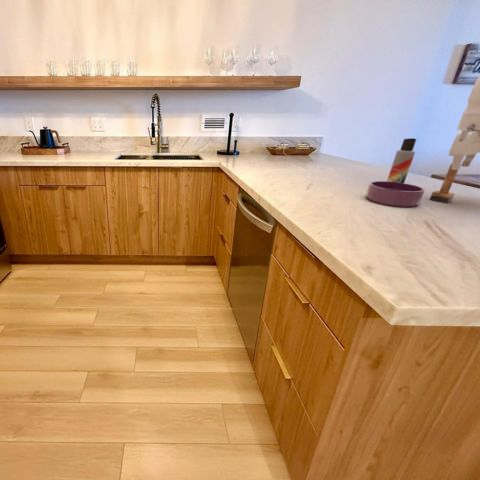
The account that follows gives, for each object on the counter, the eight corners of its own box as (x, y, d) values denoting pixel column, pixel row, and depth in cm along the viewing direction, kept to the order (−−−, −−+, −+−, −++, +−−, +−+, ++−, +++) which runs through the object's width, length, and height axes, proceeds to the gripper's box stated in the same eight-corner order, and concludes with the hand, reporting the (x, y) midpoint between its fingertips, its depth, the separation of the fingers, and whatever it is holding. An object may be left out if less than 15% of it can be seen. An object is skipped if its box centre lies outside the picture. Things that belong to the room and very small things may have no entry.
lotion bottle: (388, 190, 117) (405, 138, 109) (382, 186, 122) (398, 137, 114) (404, 190, 116) (423, 138, 108) (397, 187, 121) (415, 137, 113)
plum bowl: (426, 203, 101) (432, 188, 99) (406, 210, 94) (412, 194, 91) (377, 193, 113) (382, 179, 111) (357, 199, 106) (361, 184, 103)
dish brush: (451, 201, 103) (467, 164, 97) (447, 203, 101) (463, 165, 95) (433, 198, 107) (448, 162, 101) (429, 199, 105) (444, 163, 99)
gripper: (480, 125, 85) (461, 172, 90) (501, 123, 94) (482, 166, 100) (452, 125, 90) (435, 169, 95) (474, 123, 99) (458, 163, 105)
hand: (460, 167), depth 98 cm, fingers open, 8 cm apart
